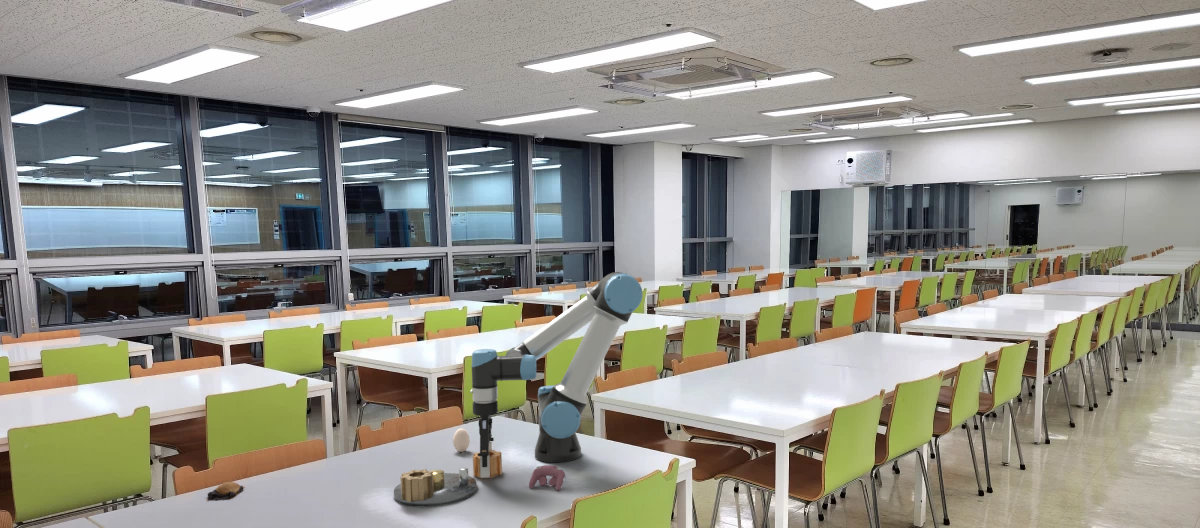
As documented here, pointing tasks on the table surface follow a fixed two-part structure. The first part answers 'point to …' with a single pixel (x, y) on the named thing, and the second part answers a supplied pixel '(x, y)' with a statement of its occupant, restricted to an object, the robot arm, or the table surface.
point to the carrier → (434, 487)
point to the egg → (461, 440)
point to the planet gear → (494, 464)
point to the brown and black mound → (225, 491)
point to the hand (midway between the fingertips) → (486, 469)
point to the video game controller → (545, 471)
